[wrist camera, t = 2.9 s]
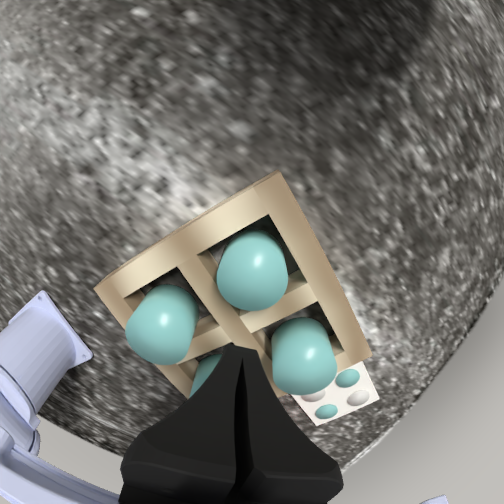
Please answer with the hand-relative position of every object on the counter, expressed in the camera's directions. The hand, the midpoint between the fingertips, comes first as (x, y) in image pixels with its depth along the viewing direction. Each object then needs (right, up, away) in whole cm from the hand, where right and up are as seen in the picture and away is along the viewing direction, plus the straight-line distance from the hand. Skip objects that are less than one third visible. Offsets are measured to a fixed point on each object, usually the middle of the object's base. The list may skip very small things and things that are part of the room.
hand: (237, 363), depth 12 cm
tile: (+9, -8, +13) cm, 17 cm away
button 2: (-5, +1, +7) cm, 9 cm away
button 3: (+4, -1, +8) cm, 9 cm away
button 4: (+1, +4, +8) cm, 9 cm away
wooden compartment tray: (0, 0, +10) cm, 10 cm away
